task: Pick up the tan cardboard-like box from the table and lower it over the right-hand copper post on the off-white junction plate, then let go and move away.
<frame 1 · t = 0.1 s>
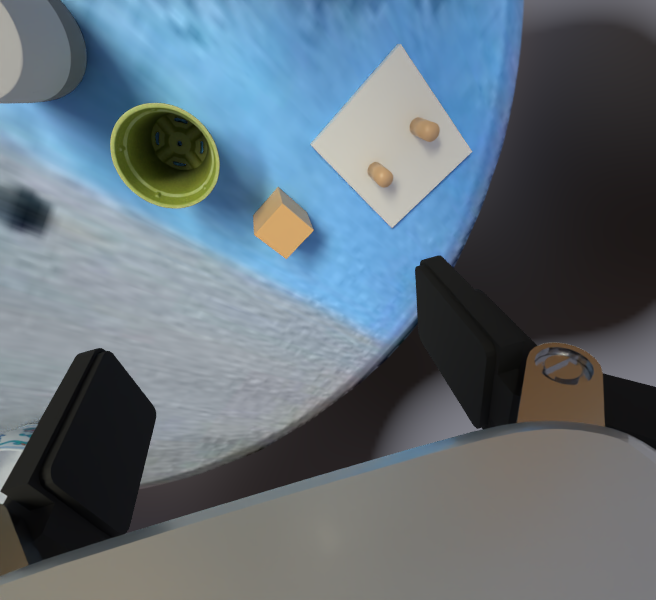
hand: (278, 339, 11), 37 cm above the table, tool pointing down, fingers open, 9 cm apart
chinaware: (40, 434, 61), on the table
tan cardboard-like box: (280, 213, 47), on the table
smart speaker: (40, 39, 33), on the table
plant pot: (180, 141, 40), on the table
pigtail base: (392, 147, 45), on the table
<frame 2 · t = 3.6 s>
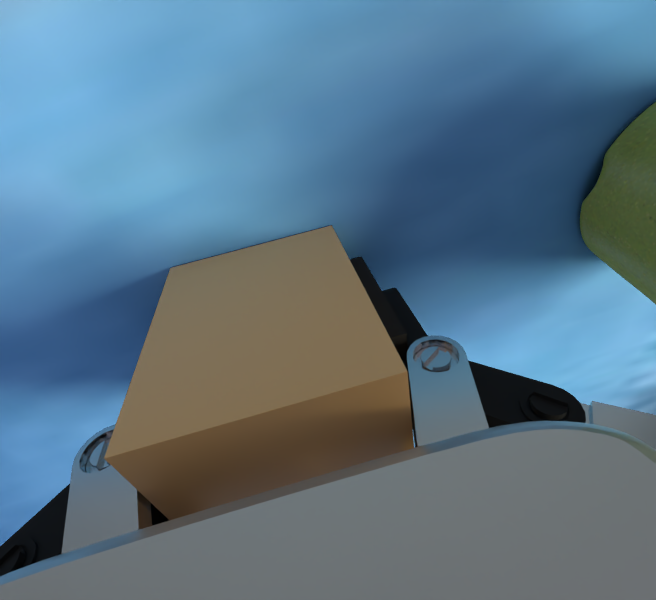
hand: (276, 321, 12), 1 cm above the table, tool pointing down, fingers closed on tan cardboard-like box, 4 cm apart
tan cardboard-like box: (274, 310, 12), on the table, touching gripper
plant pot: (654, 178, 12), on the table
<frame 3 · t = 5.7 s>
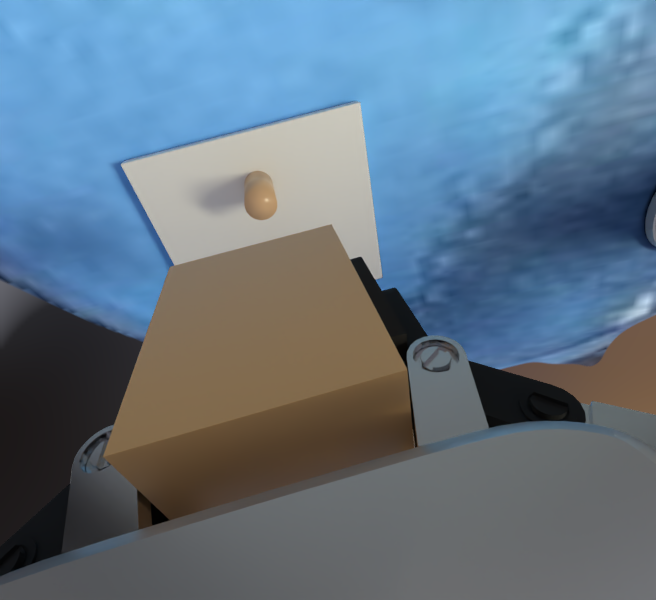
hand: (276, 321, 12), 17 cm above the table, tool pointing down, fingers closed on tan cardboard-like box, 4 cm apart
tan cardboard-like box: (274, 309, 12), point 17 cm above the table, touching gripper
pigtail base: (272, 225, 28), on the table
when the fingers open (3 cm above the table, at t = 8.3 s): tan cardboard-like box stays where it is, resting on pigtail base.
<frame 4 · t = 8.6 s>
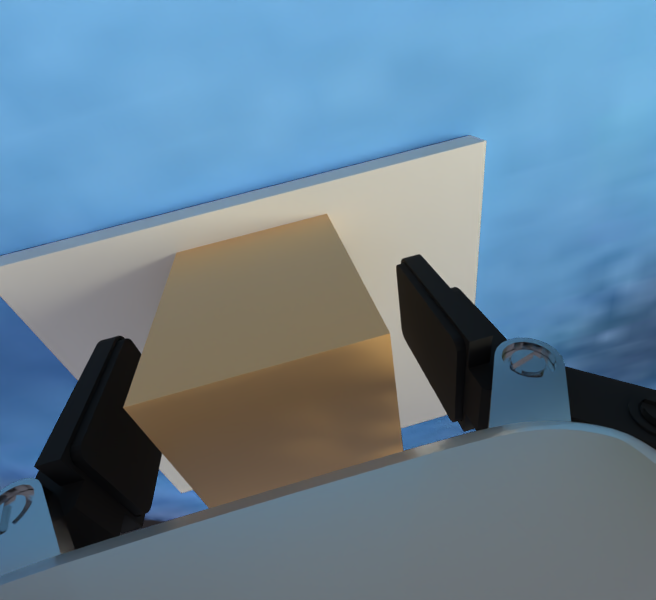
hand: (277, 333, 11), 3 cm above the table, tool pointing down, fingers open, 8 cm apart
tan cardboard-like box: (273, 294, 13), point 1 cm above the table, touching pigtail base
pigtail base: (293, 345, 16), on the table
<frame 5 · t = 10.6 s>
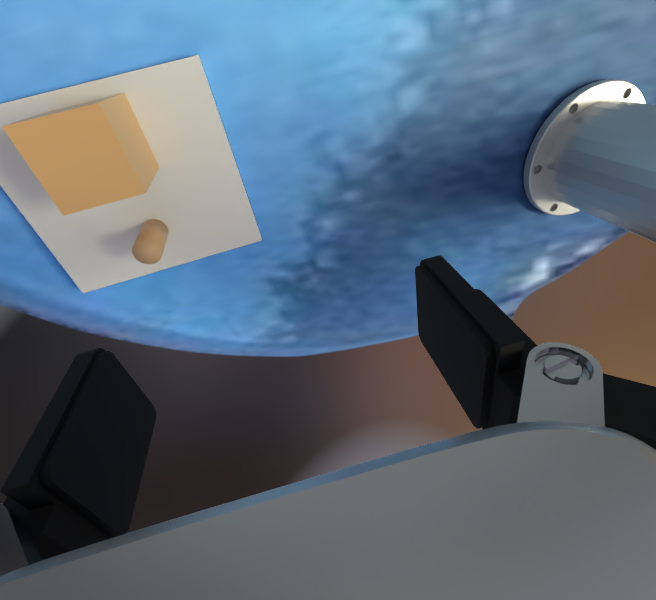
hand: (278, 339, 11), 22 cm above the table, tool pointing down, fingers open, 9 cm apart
tan cardboard-like box: (107, 141, 25), point 1 cm above the table, touching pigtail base
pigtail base: (135, 185, 28), on the table
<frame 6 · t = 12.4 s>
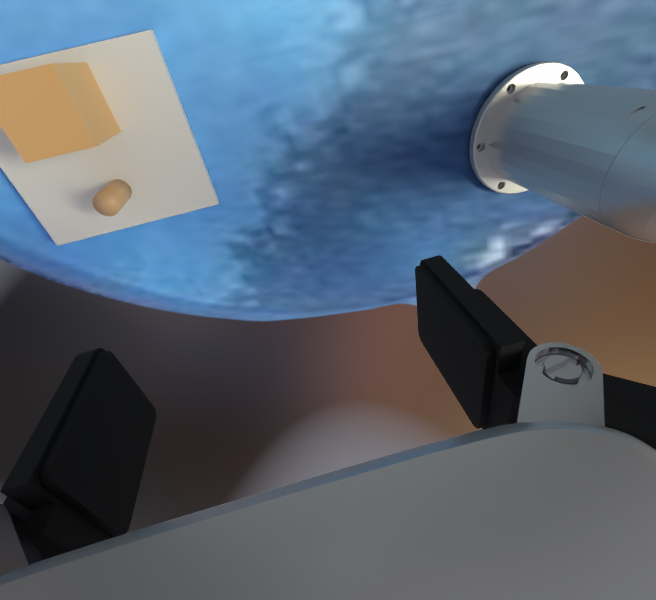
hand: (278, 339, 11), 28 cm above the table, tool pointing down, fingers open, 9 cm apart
tan cardboard-like box: (74, 105, 29), point 1 cm above the table, touching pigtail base
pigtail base: (102, 148, 31), on the table
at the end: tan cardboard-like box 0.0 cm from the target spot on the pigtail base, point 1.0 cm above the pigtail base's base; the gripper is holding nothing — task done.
